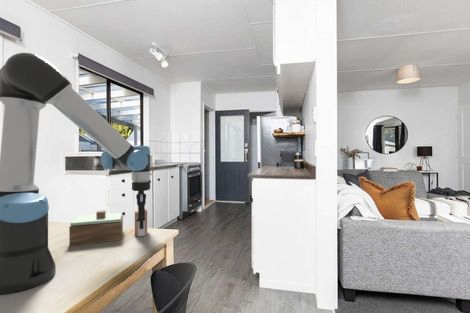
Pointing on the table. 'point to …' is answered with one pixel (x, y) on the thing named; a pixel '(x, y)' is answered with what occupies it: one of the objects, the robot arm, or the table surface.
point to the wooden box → (95, 232)
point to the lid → (97, 218)
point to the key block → (137, 222)
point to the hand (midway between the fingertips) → (141, 232)
